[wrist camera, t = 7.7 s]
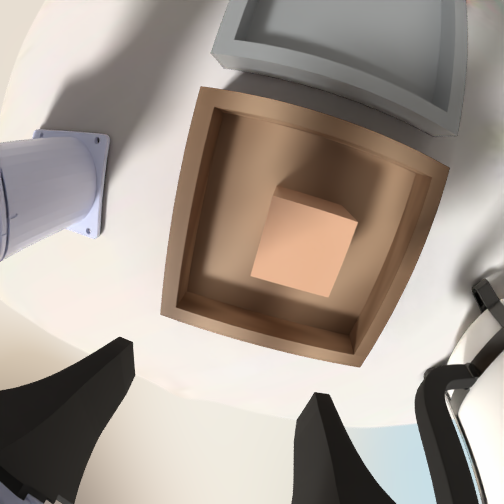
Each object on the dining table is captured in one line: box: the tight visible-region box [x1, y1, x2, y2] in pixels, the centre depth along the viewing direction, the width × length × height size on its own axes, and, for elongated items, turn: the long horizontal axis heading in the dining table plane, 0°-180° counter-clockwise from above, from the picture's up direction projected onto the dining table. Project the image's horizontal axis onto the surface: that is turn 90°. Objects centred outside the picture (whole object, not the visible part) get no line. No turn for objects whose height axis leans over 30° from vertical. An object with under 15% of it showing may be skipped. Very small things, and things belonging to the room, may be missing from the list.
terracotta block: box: [250, 186, 358, 297], centre depth 14 cm, size 4×4×4 cm
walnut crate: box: [160, 86, 450, 367], centre depth 16 cm, size 14×14×3 cm
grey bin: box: [211, 0, 468, 137], centre depth 10 cm, size 14×14×3 cm
